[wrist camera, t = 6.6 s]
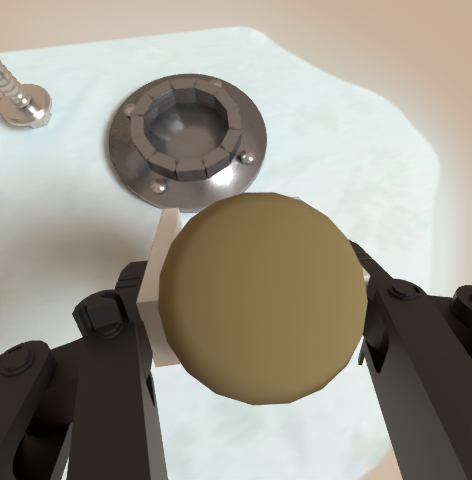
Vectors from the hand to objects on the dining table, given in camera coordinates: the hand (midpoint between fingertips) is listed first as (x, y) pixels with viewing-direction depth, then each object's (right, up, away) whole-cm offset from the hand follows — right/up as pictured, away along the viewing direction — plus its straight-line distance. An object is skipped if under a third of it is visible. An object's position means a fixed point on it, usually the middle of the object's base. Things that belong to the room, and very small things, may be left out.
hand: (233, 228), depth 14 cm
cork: (0, -5, +2) cm, 5 cm away
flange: (-5, +10, +15) cm, 19 cm away
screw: (-21, +12, +16) cm, 29 cm away
